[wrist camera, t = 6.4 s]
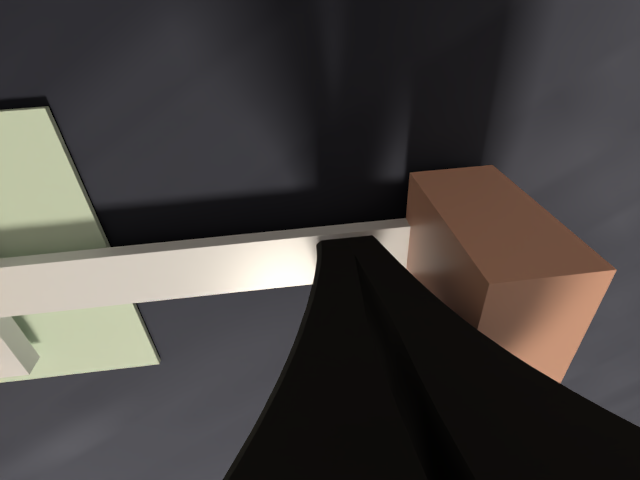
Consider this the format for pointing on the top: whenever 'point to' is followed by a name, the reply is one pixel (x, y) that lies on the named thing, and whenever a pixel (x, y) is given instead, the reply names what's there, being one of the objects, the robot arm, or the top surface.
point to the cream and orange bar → (395, 235)
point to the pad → (59, 250)
